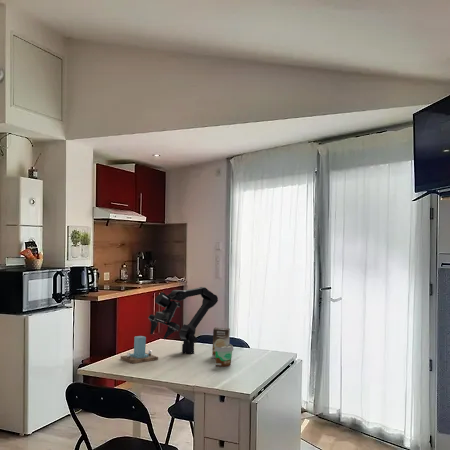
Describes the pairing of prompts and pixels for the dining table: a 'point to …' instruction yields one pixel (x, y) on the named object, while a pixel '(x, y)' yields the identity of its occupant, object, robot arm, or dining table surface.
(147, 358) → the walnut base plate
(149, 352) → the dowel pins
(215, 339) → the coffee box
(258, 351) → the dining table surface
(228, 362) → the food container
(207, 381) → the dining table surface
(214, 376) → the dining table surface
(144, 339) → the stepped blue block
